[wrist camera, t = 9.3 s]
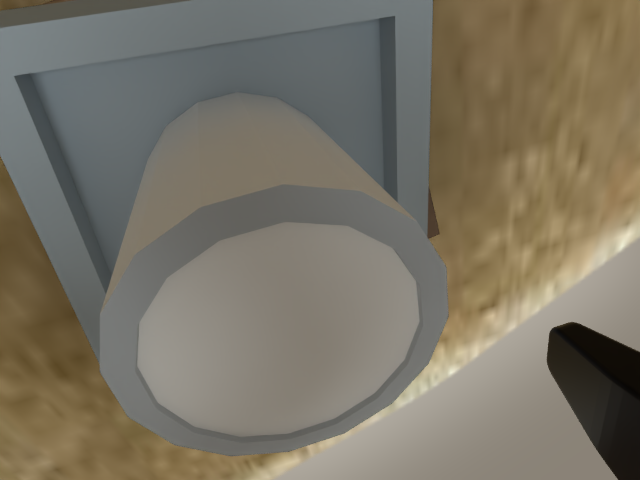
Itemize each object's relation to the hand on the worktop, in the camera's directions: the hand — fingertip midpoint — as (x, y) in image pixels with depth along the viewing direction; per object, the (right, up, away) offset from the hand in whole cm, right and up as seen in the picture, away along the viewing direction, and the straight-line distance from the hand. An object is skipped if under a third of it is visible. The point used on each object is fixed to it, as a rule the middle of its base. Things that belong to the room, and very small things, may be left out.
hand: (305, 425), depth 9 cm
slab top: (-3, +5, +8) cm, 10 cm away
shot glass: (-2, +5, +7) cm, 9 cm away
